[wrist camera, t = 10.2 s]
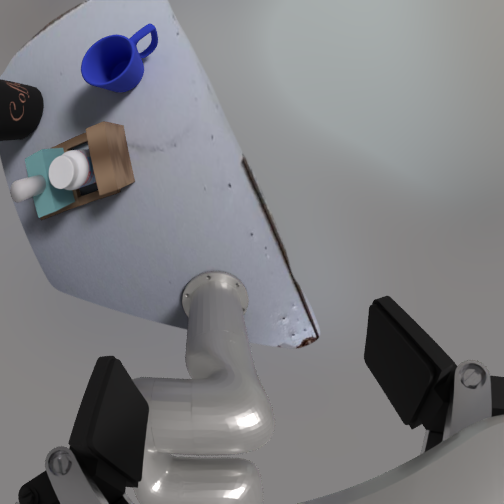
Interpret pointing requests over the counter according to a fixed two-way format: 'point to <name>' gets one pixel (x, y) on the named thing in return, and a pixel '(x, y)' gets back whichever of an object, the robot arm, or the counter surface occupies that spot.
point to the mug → (117, 61)
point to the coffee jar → (19, 110)
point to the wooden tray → (102, 162)
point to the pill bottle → (72, 170)
